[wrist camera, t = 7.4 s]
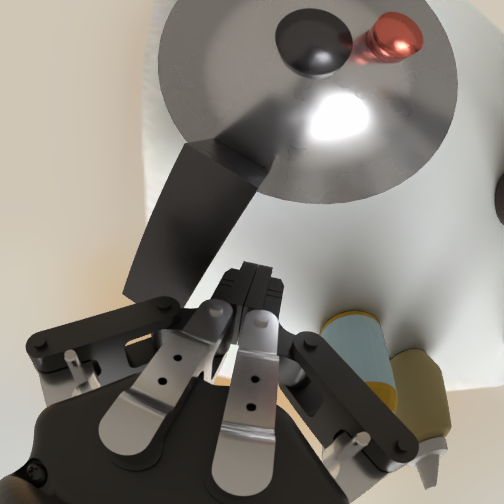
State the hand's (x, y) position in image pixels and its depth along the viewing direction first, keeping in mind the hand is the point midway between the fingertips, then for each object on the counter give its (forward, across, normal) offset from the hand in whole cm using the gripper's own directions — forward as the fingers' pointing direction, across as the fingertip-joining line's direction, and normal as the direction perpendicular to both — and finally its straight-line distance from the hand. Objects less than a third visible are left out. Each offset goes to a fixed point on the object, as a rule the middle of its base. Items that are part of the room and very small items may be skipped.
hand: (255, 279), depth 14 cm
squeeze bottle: (+12, -20, +15) cm, 28 cm away
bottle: (+12, -10, +11) cm, 19 cm away
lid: (+2, +1, -8) cm, 9 cm away
